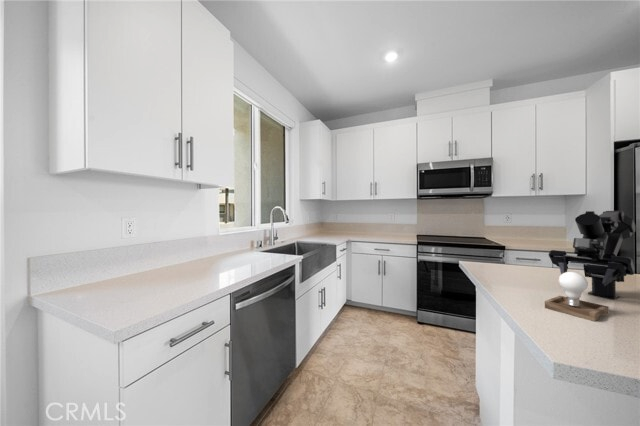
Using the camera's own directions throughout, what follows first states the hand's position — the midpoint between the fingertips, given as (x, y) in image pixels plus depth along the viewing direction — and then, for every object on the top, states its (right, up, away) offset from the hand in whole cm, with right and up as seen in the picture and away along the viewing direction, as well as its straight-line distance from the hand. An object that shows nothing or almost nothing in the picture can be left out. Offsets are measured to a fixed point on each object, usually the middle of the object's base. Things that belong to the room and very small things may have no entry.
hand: (582, 281), depth 78 cm
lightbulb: (-5, -8, -2) cm, 9 cm away
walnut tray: (-5, -8, -3) cm, 10 cm away
